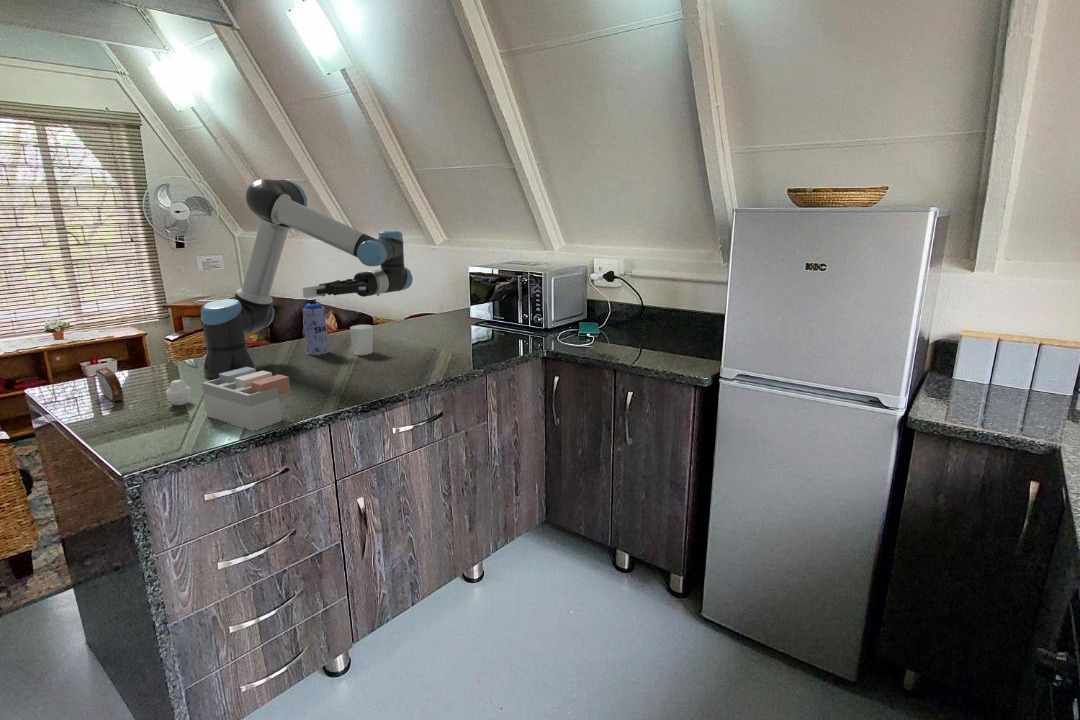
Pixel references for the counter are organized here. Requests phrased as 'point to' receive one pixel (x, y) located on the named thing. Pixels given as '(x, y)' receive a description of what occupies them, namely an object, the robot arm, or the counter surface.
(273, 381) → the terracotta key
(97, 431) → the counter surface
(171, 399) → the muffin
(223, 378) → the blue-grey rectangular block
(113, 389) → the tin
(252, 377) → the ivory key
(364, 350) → the white cup
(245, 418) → the grey slotted rack
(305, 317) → the aerosol can
